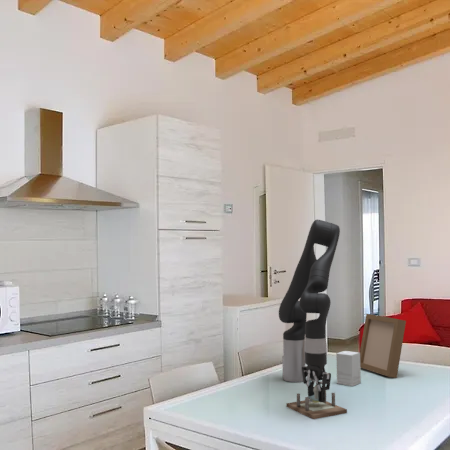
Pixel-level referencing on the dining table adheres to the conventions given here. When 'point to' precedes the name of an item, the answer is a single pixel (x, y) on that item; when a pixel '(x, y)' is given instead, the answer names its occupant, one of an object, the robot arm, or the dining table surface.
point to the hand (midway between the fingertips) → (316, 399)
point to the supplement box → (348, 368)
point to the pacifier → (314, 397)
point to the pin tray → (316, 407)
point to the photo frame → (382, 344)
